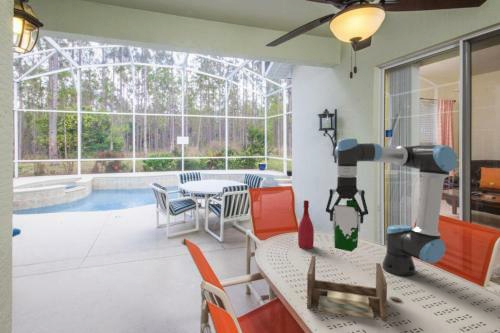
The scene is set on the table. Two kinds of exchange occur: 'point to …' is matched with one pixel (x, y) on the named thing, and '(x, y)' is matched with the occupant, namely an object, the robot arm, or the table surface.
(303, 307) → the table surface
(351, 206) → the soya milk
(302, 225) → the wine bottle
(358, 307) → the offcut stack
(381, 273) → the walnut rack
